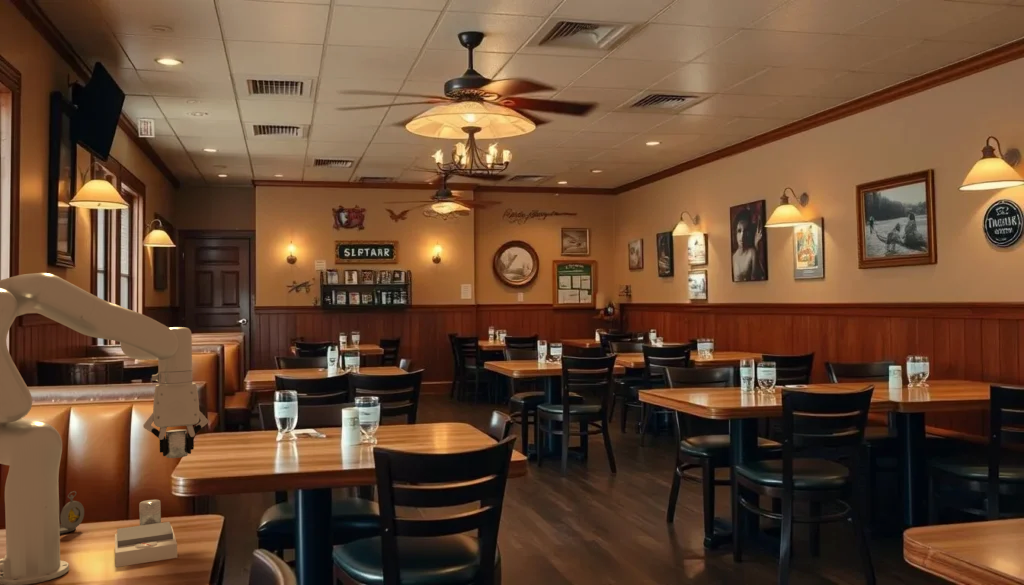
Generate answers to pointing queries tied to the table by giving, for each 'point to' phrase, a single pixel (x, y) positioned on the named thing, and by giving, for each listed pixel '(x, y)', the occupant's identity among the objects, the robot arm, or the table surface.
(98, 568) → the table surface
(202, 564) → the table surface
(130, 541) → the scale
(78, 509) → the pocket watch
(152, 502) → the cylinder
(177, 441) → the cylinder
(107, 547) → the table surface
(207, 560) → the table surface
